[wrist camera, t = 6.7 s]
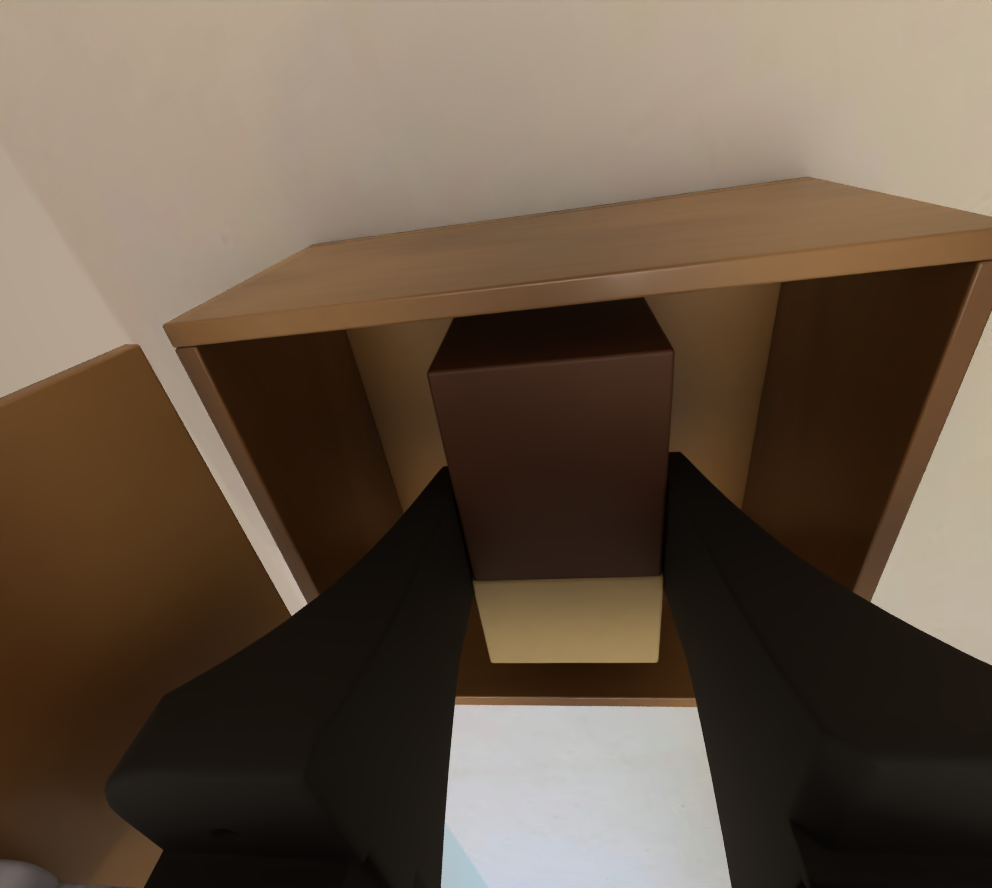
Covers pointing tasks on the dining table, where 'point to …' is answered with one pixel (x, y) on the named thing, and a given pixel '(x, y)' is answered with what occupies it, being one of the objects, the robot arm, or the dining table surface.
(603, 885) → the dining table surface
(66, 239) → the dining table surface
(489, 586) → the chocolate bar
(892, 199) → the box
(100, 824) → the flap
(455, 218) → the dining table surface
